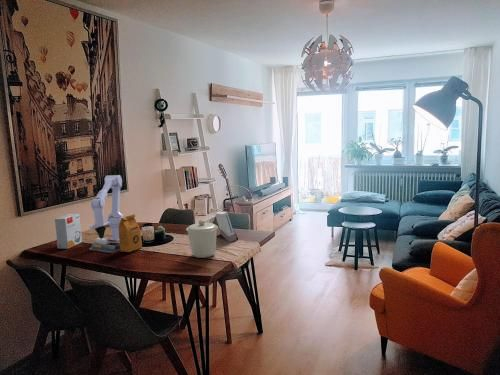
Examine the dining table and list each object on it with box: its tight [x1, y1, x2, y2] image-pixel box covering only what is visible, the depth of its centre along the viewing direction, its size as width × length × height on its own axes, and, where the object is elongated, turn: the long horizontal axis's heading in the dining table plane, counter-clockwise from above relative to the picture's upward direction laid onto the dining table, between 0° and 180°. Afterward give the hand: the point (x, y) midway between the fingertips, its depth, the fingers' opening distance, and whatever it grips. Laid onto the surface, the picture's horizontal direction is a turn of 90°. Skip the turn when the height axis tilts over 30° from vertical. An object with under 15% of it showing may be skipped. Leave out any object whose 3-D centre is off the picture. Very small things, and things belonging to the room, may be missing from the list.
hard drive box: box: [54, 213, 83, 250], centre depth 255 cm, size 16×8×20 cm, turn 168°
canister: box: [185, 219, 219, 259], centre depth 223 cm, size 18×18×21 cm
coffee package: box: [118, 213, 143, 253], centre depth 238 cm, size 10×12×22 cm
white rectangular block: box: [95, 237, 108, 244], centre depth 247 cm, size 3×7×5 cm, turn 64°
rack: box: [88, 240, 120, 254], centre depth 245 cm, size 12×20×4 cm, turn 64°
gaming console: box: [214, 211, 239, 243], centre depth 258 cm, size 23×8×20 cm, turn 20°
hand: (101, 238), depth 246 cm, fingers closed
